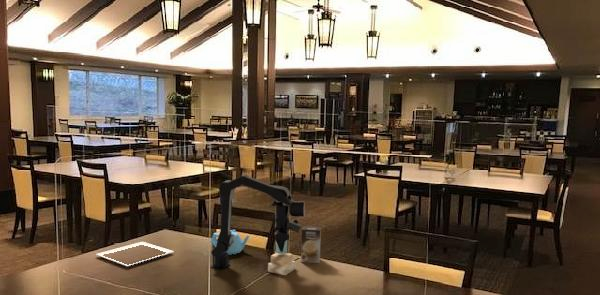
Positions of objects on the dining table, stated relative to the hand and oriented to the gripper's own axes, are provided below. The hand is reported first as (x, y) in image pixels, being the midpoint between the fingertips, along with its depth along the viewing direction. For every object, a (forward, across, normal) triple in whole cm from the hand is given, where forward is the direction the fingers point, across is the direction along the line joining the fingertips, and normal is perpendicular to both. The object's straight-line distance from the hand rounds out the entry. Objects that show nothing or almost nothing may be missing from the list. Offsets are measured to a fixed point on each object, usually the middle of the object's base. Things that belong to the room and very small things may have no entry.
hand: (281, 249), depth 201 cm
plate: (+10, +21, +71) cm, 75 cm away
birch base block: (+10, 0, 0) cm, 10 cm away
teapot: (+10, +28, +26) cm, 39 cm away
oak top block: (+6, 0, 0) cm, 6 cm away
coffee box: (+10, +13, -14) cm, 21 cm away
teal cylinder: (+1, 0, 0) cm, 1 cm away
